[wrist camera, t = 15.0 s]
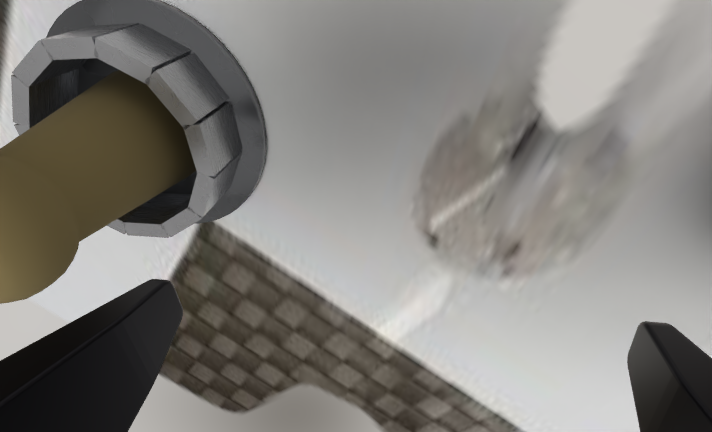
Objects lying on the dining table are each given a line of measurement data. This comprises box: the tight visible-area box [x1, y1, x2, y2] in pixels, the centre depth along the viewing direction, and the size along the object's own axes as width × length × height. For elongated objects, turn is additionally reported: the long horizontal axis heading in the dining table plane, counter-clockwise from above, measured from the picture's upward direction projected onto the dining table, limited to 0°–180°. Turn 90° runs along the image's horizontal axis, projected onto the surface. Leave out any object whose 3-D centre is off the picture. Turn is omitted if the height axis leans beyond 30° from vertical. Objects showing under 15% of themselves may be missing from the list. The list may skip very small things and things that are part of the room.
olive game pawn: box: [0, 70, 197, 303], centre depth 18 cm, size 6×6×11 cm
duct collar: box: [11, 0, 266, 238], centre depth 21 cm, size 12×12×4 cm
